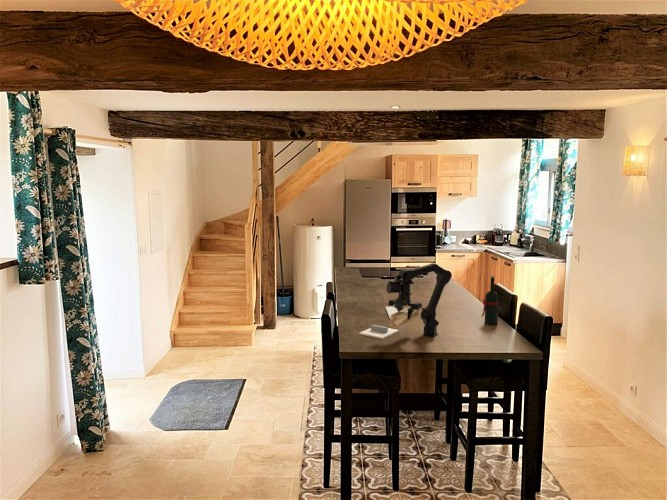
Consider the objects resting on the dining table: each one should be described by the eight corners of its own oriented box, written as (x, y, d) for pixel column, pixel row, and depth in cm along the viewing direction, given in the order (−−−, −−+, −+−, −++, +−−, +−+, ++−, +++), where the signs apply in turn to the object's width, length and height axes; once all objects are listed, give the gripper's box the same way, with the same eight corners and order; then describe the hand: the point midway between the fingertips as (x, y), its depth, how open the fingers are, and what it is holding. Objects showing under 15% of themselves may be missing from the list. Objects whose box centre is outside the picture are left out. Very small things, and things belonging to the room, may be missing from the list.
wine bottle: (478, 322, 320) (480, 275, 316) (494, 321, 322) (495, 274, 317) (484, 325, 312) (485, 277, 308) (499, 325, 314) (501, 276, 310)
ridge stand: (398, 331, 302) (398, 325, 302) (382, 339, 288) (382, 332, 288) (376, 327, 312) (376, 320, 311) (359, 334, 298) (359, 327, 297)
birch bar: (418, 317, 296) (418, 307, 296) (397, 326, 278) (397, 316, 277) (411, 316, 299) (411, 306, 298) (390, 325, 280) (390, 314, 279)
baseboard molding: (402, 308, 359) (385, 308, 359) (402, 304, 358) (385, 304, 358) (408, 320, 328) (390, 320, 328) (408, 316, 327) (390, 316, 328)
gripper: (383, 292, 285) (383, 319, 287) (412, 296, 274) (412, 325, 276) (393, 288, 294) (393, 315, 296) (422, 293, 283) (422, 320, 285)
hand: (404, 319), depth 288 cm, fingers closed on birch bar, 4 cm apart
